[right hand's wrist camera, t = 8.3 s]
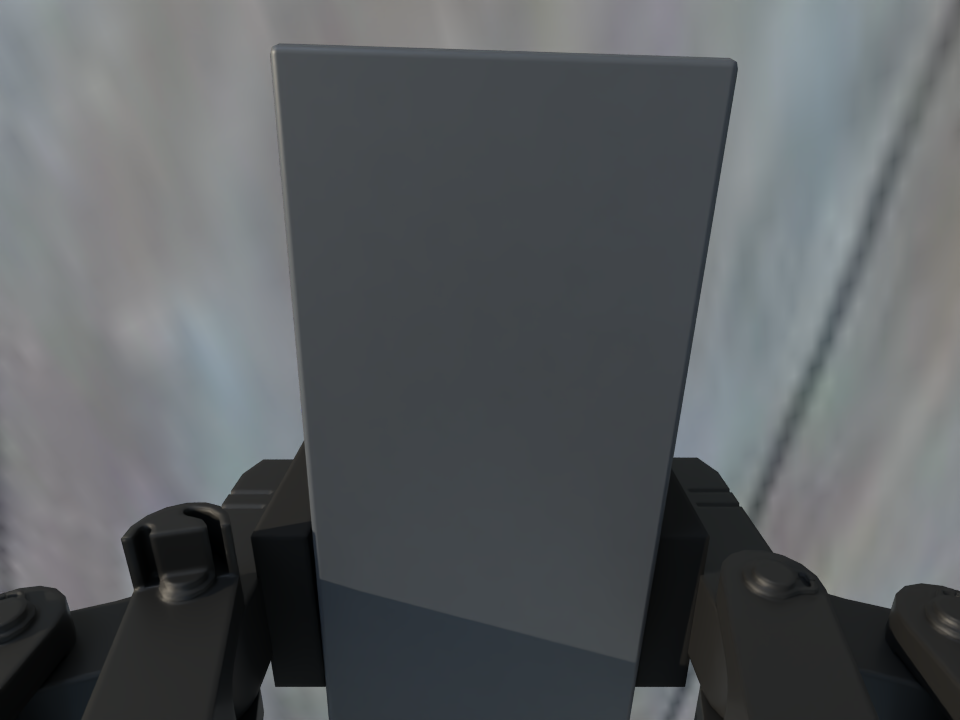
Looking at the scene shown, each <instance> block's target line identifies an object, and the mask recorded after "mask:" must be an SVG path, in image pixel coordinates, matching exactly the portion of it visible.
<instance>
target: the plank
mask: <svg viewBox="0 0 960 720" xmlns="http://www.w3.org/2000/svg"><path fill="white" fill-rule="evenodd" d="M270 58H271V70H272V81H273V92H274V104H275V115H276V126H277V138H278V149H279V160H280V171H281V183H282V194H283V205H284V217H285V228H286V239H287V251H288V262H289V273H290V284H291V296H292V307H293V318H294V330H295V341H296V352H297V364H298V375H299V386H300V397H301V409H302V420H303V431H304V443H305V454H306V465H307V476H308V488H309V499H310V510H311V522H312V533H313V544H314V556H315V567H316V578H317V589H318V601H319V612H320V623H321V635H322V646H323V657H324V669H325V680H326V691H327V702H328V714H329V720H630V714H631V708H632V702H633V696H634V690H635V684H636V678H637V672H638V666H639V660H640V654H641V648H642V642H643V636H644V630H645V624H646V618H647V612H648V606H649V600H650V594H651V588H652V582H653V576H654V570H655V564H656V558H657V552H658V546H659V540H660V534H661V528H662V522H663V516H664V510H665V504H666V498H667V492H668V486H669V480H670V474H671V468H672V462H673V456H674V450H675V444H676V438H677V432H678V426H679V420H680V414H681V408H682V402H683V396H684V390H685V384H686V378H687V372H688V366H689V360H690V354H691V348H692V342H693V336H694V329H695V323H696V317H697V311H698V305H699V299H700V293H701V287H702V281H703V275H704V269H705V263H706V257H707V251H708V245H709V239H710V233H711V227H712V221H713V215H714V209H715V203H716V197H717V191H718V185H719V179H720V173H721V167H722V161H723V155H724V149H725V143H726V137H727V131H728V125H729V119H730V113H731V107H732V101H733V95H734V89H735V83H736V77H737V71H738V67H737V62H736V61H734V60H732V59H730V58H710V57H679V56H649V55H618V54H587V53H556V52H525V51H495V50H464V49H433V48H402V47H371V46H341V45H310V44H277V45H275V46H273V47H272V50H271V53H270Z"/></svg>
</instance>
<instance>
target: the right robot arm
mask: <svg viewBox="0 0 960 720" xmlns="http://www.w3.org/2000/svg"><path fill="white" fill-rule="evenodd" d="M121 541H122V545H123V549H124V553H125V557H126V560H127V564H128V568H129V572H130V576H131V580H132V583H133V587H134V592H133V594H132V597H129V598H125V599H122V600H118V601H115V602H110V603H106V604H101V605H97V606H92V607H88V608H83V609H79V610H74V611H70V610H69V606H68V603H67V600H66V597H65V596H64V595H63V594H62V593H61V592H60V591H58V590H57V589H55V588H49V587H43V586H35V587H27V588H19V589H16V590H13V591H9V592H6V593H2V594H0V720H263V716H264V709H263V702H262V696H261V690H260V687H261V684H262V682H263V679H264V677H265V674H266V671H267V669H268V666H269V664H270V661H271V664H272V670H273V676H274V682H275V687H326V680H325V669H324V657H323V646H322V635H321V623H320V612H319V601H318V589H317V578H316V567H315V556H314V544H313V533H312V522H311V510H310V499H309V488H308V476H307V465H306V454H305V443H304V442H303V443H302V445H301V447H300V449H299V451H298V452H297V454H296V456H295V458H294V460H262V461H261V462H259V463H258V464H256V465H255V466H254V467H252V468H251V469H249V470H248V471H246V472H245V473H244V474H242V476H241V477H240V479H239V480H238V482H237V483H236V485H235V486H234V488H233V489H232V491H231V494H229V495H228V496H227V498H226V499H225V501H224V502H223V504H222V507H221V506H217V505H214V504H210V503H206V502H205V503H184V504H180V505H175V506H171V507H166V508H164V509H162V510H159V511H157V512H154V513H152V514H150V515H147V516H146V517H144V518H143V519H141V520H140V521H138V522H137V523H135V524H134V525H133V526H131V527H130V528H129V530H128V531H127V532H126V533H125V535H124V536H123V537H122V538H121ZM689 660H691V662H692V665H693V667H694V670H695V672H696V675H697V678H698V680H699V683H700V690H699V696H698V701H697V707H696V713H695V718H694V720H960V591H958V590H954V589H951V588H947V587H944V586H939V585H930V584H922V583H921V584H915V585H909V586H905V587H903V588H902V589H901V590H900V591H899V592H898V593H896V595H895V599H894V602H893V605H892V608H891V609H889V608H884V607H880V606H875V605H871V604H866V603H862V602H857V601H853V600H848V599H844V598H840V597H837V596H834V595H830V594H828V593H827V591H826V589H825V587H824V586H823V584H822V583H821V582H820V580H819V579H818V577H817V576H816V575H815V574H813V573H812V572H811V571H810V570H808V569H807V568H806V567H804V566H803V565H802V564H800V563H798V562H796V561H794V560H792V559H790V558H788V557H785V556H783V555H780V554H776V553H773V552H772V550H771V549H770V547H769V546H768V545H767V543H766V542H765V540H764V539H763V537H762V536H761V534H760V533H759V531H758V530H757V528H756V527H755V526H754V524H753V523H752V521H751V520H750V518H749V517H748V515H747V514H746V512H745V511H744V510H743V508H742V507H739V502H738V501H737V499H736V498H735V496H734V495H733V493H732V492H730V491H729V488H728V486H727V485H726V483H725V482H724V480H723V479H722V477H721V476H720V474H719V473H718V472H717V471H716V470H714V469H713V468H711V467H710V466H708V465H707V464H705V463H704V462H703V461H701V460H700V459H698V458H673V462H672V468H671V474H670V480H669V486H668V492H667V498H666V504H665V510H664V516H663V522H662V528H661V534H660V540H659V546H658V552H657V558H656V564H655V570H654V576H653V582H652V588H651V594H650V600H649V606H648V612H647V618H646V624H645V630H644V636H643V642H642V648H641V654H640V660H639V666H638V672H637V678H636V684H635V687H685V684H686V678H687V672H688V666H689Z"/></svg>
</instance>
